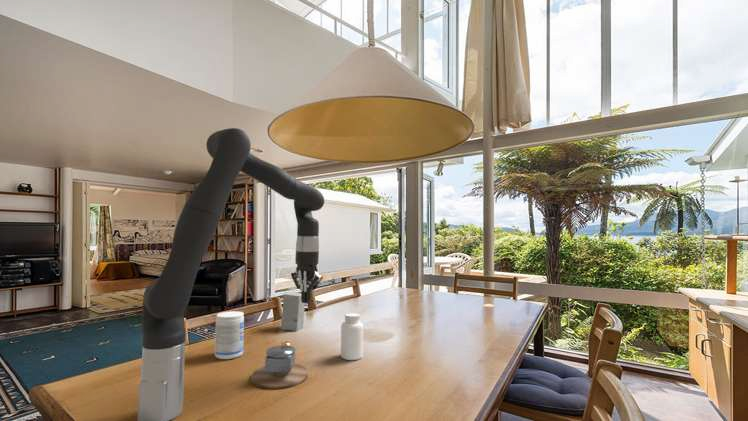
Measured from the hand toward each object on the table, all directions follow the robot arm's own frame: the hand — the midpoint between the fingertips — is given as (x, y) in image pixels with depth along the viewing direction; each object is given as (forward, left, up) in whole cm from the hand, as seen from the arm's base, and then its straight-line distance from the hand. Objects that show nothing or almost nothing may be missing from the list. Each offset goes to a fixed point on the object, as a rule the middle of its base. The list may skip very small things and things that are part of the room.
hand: (305, 302), depth 119 cm
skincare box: (+46, +14, -22) cm, 53 cm away
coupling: (-4, +6, -19) cm, 20 cm away
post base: (-6, +6, -22) cm, 23 cm away
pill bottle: (+12, -15, -22) cm, 29 cm away
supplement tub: (+11, +29, -22) cm, 38 cm away
